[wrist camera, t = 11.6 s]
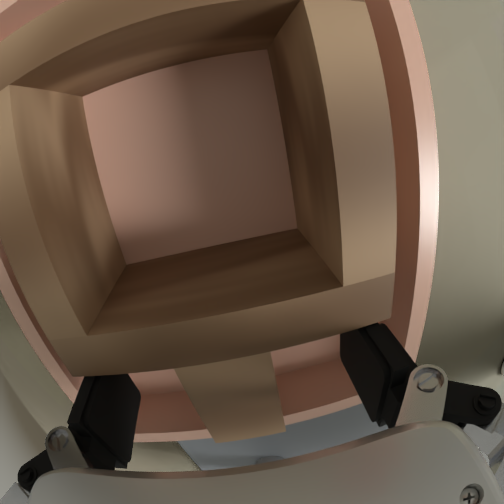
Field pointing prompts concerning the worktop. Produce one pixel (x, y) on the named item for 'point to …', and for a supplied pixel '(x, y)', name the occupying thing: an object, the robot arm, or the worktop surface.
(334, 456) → the robot arm
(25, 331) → the tray
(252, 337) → the wooden bar frame
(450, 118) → the worktop surface
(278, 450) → the stand
